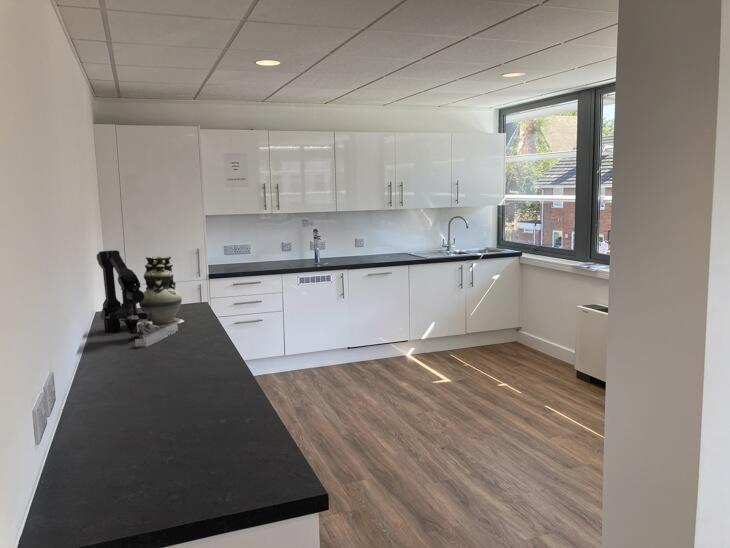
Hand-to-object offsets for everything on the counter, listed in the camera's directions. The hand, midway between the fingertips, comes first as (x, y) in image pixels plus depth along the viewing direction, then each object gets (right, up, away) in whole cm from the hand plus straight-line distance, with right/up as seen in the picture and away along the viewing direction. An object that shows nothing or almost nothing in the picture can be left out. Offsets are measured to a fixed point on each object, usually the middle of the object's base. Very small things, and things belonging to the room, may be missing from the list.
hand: (132, 333), depth 276 cm
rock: (+8, -2, +3) cm, 9 cm away
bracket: (+13, -2, -2) cm, 13 cm away
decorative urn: (+3, +2, +33) cm, 33 cm away
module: (+1, -1, +14) cm, 14 cm away
